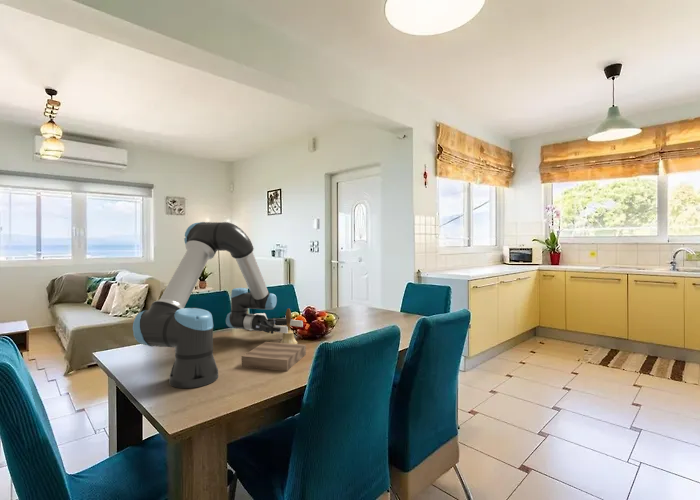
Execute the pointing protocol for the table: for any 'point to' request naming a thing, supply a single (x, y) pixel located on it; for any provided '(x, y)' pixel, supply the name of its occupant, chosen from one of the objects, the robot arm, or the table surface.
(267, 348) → the walnut plinth
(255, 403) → the table surface
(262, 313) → the die
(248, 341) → the table surface
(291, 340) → the hand bell
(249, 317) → the robot arm
